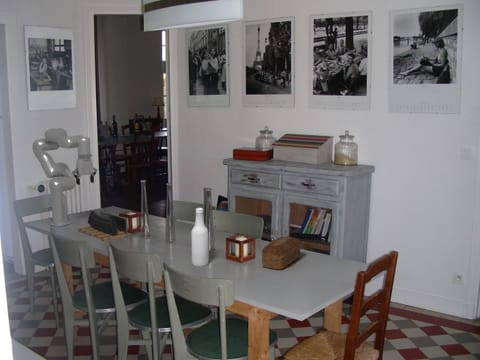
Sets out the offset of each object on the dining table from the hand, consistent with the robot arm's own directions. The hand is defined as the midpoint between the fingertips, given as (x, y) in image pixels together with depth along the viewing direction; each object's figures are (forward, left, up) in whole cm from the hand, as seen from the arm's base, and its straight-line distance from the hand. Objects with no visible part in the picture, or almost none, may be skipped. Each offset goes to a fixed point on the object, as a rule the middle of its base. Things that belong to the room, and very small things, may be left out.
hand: (85, 183), depth 345 cm
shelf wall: (+12, +12, -30) cm, 34 cm away
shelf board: (+12, +5, -31) cm, 33 cm away
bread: (+128, +42, -32) cm, 139 cm away
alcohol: (+100, +10, -31) cm, 105 cm away
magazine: (+12, +4, -30) cm, 32 cm away
